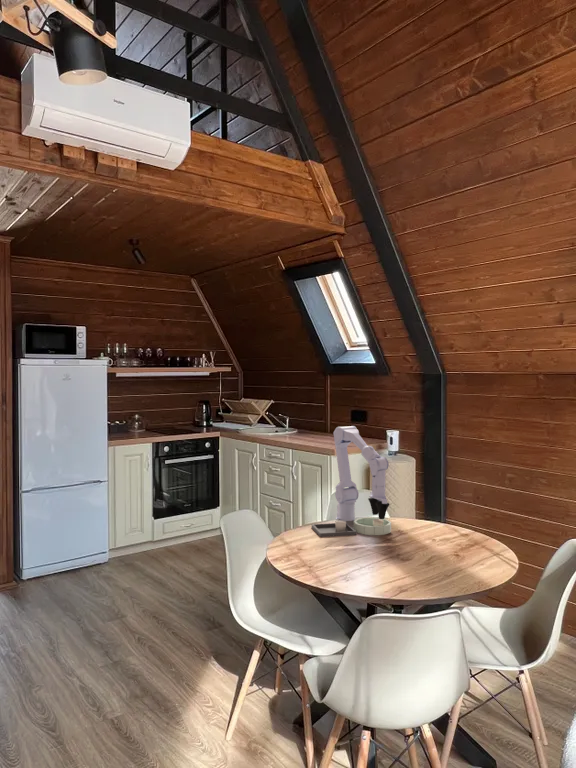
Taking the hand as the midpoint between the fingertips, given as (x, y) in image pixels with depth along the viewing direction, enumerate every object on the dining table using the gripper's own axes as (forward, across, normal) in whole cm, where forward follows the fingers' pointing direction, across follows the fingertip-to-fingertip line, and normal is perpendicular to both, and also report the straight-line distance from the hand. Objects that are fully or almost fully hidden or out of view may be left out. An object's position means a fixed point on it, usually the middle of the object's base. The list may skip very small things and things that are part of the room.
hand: (378, 516), depth 249 cm
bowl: (+7, 0, -3) cm, 7 cm away
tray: (+7, -1, -20) cm, 21 cm away
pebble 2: (+6, 0, 0) cm, 6 cm away
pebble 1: (+6, -1, -17) cm, 18 cm away
